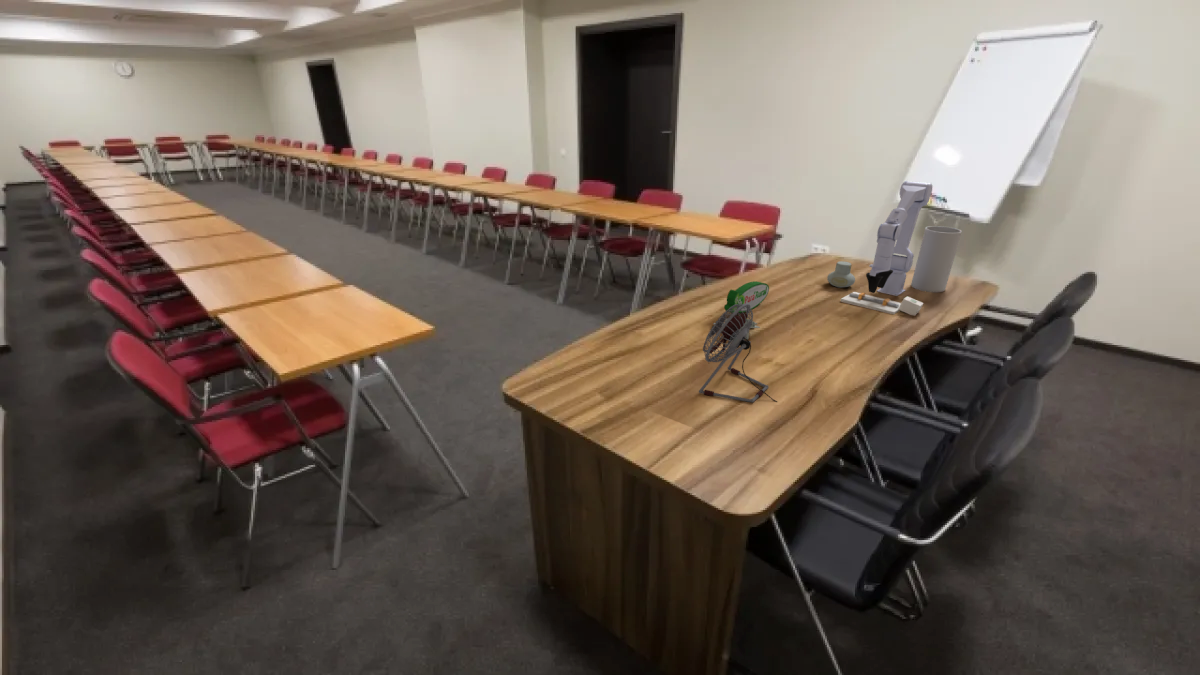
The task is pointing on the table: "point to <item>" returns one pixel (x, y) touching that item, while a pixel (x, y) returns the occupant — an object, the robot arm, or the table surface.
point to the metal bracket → (746, 325)
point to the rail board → (871, 303)
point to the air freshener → (841, 275)
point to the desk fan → (731, 346)
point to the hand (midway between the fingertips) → (875, 289)
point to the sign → (747, 295)
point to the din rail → (874, 300)
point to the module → (910, 306)
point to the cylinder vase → (935, 258)
